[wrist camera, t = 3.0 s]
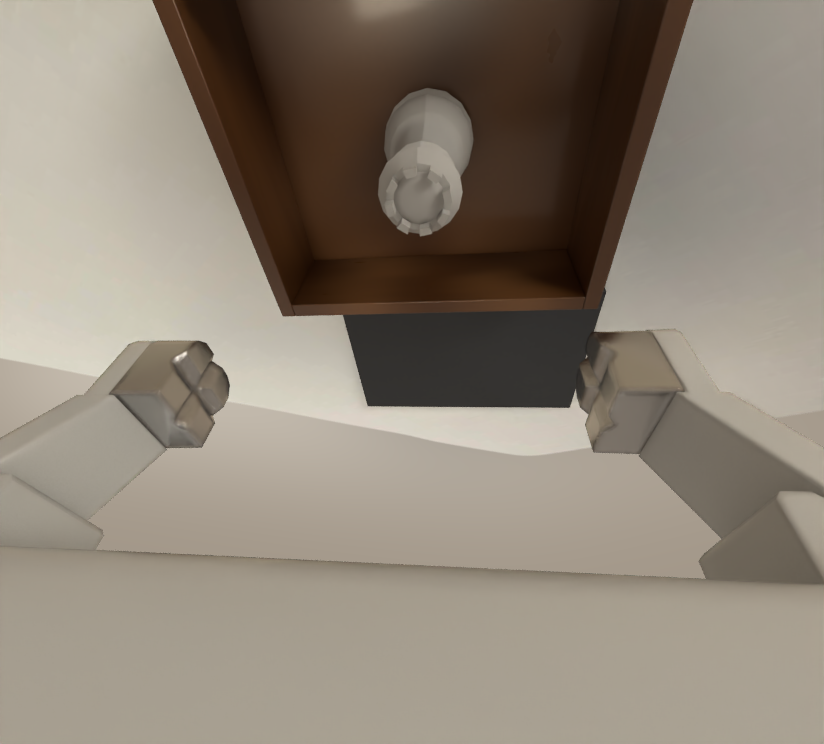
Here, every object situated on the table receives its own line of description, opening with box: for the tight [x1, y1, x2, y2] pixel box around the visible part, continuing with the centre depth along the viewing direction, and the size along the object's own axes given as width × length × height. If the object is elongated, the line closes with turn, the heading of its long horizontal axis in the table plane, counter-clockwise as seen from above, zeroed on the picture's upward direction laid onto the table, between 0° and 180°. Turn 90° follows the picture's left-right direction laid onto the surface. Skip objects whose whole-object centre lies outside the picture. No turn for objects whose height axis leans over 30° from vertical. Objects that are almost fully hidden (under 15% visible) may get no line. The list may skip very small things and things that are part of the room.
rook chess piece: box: [378, 88, 474, 236], centre depth 17 cm, size 4×4×8 cm
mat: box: [343, 288, 606, 408], centre depth 31 cm, size 18×12×1 cm, turn 95°
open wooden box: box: [153, 0, 693, 316], centre depth 18 cm, size 18×15×5 cm
